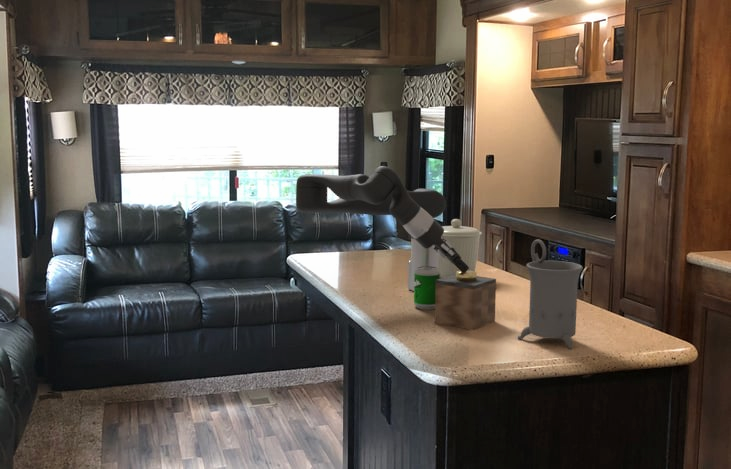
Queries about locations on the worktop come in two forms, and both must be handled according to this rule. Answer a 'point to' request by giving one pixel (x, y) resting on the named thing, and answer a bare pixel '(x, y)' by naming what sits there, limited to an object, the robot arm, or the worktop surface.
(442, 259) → the canister
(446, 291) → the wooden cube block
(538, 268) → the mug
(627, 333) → the worktop surface
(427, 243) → the robot arm
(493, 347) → the worktop surface
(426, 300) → the soda can
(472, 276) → the brass round peg
